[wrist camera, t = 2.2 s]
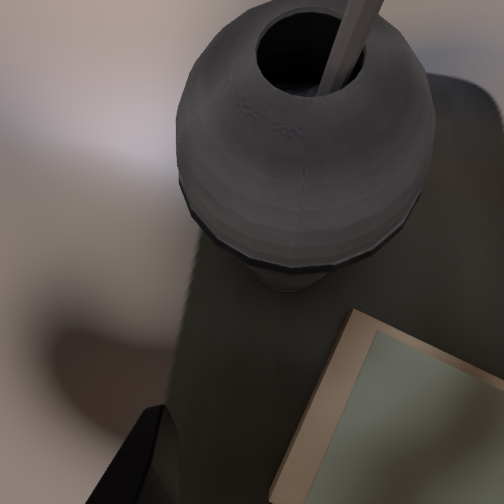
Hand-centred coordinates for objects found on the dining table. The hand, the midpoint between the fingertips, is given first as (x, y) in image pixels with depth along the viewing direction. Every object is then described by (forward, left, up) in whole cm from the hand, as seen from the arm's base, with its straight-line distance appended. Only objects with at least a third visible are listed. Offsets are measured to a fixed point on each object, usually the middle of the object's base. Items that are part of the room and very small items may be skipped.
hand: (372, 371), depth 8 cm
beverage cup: (+4, -5, -13) cm, 14 cm away
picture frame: (-7, +2, -13) cm, 15 cm away
